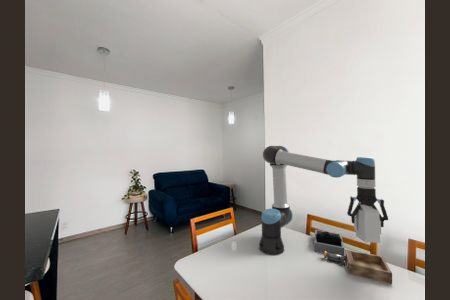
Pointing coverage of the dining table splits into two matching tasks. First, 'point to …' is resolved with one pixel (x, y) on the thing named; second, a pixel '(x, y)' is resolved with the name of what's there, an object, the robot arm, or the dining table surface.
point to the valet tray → (329, 248)
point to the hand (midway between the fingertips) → (367, 231)
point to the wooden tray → (368, 266)
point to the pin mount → (337, 260)
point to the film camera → (328, 239)
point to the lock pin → (333, 256)
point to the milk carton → (368, 224)
